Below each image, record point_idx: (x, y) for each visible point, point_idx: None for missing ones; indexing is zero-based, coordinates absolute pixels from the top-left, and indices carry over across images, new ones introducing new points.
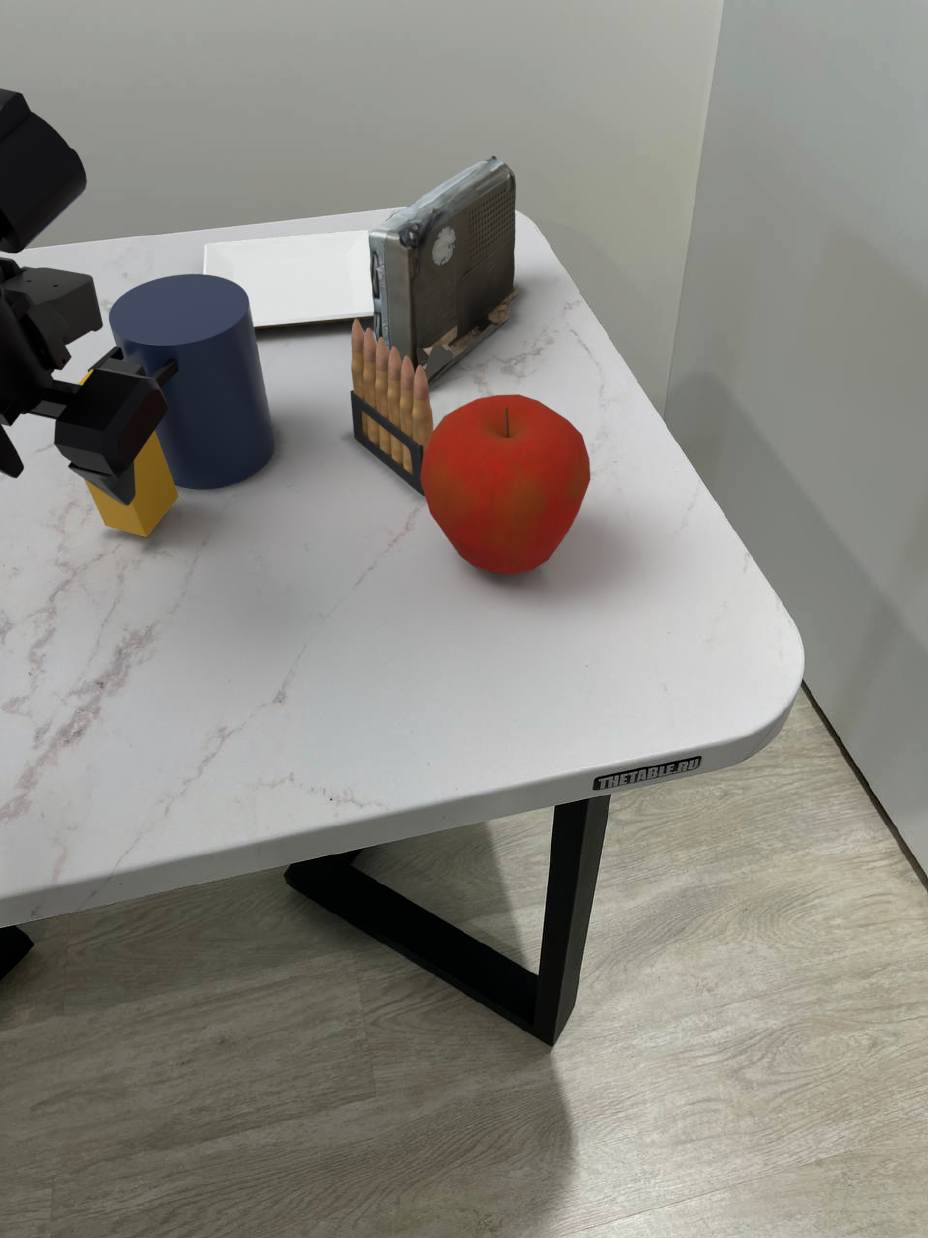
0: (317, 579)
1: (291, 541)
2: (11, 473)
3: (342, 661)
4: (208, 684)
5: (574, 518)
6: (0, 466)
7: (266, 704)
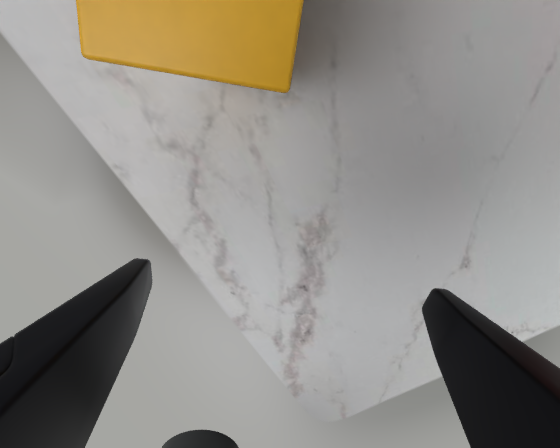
0: (486, 102)
1: (447, 34)
2: (145, 302)
3: (517, 212)
4: (399, 265)
5: None
6: (129, 340)
7: (454, 272)
